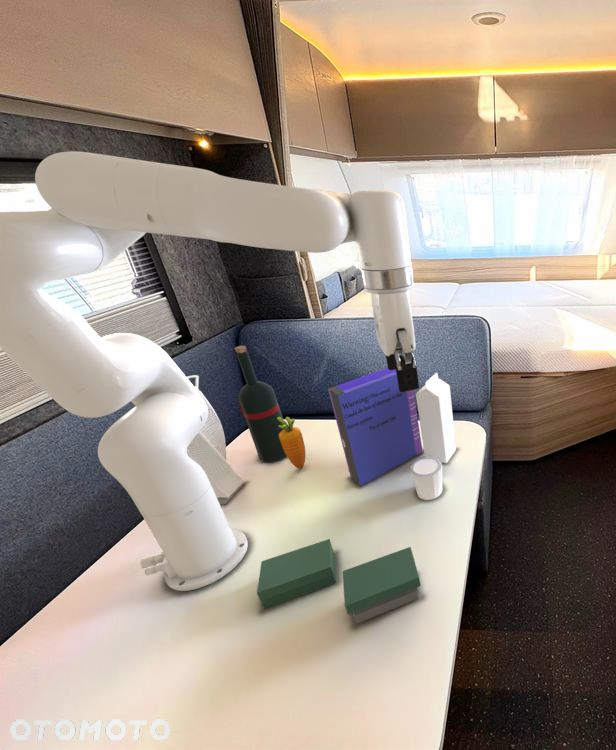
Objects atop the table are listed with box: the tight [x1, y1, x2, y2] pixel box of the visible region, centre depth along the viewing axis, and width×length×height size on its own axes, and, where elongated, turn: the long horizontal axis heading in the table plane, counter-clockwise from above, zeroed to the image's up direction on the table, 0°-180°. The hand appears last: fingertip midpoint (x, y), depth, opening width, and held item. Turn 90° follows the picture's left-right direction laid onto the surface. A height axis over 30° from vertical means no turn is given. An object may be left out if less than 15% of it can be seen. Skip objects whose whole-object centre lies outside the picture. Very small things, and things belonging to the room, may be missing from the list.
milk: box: [415, 372, 457, 464], centre depth 94 cm, size 6×6×22 cm
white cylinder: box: [409, 456, 443, 501], centre depth 85 cm, size 7×7×7 cm
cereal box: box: [327, 367, 424, 488], centre depth 90 cm, size 17×5×24 cm, turn 136°
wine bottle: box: [234, 345, 288, 463], centre depth 96 cm, size 8×10×30 cm
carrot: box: [277, 416, 306, 470], centre depth 92 cm, size 5×5×15 cm
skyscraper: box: [186, 374, 246, 506], centre depth 83 cm, size 8×8×28 cm
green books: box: [256, 538, 337, 610], centre depth 66 cm, size 11×6×4 cm, turn 114°
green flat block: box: [342, 546, 421, 616], centre depth 61 cm, size 11×6×2 cm, turn 114°
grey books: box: [352, 587, 420, 625], centre depth 63 cm, size 10×4×4 cm, turn 114°
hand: (402, 378), depth 67 cm, fingers open, 9 cm apart
